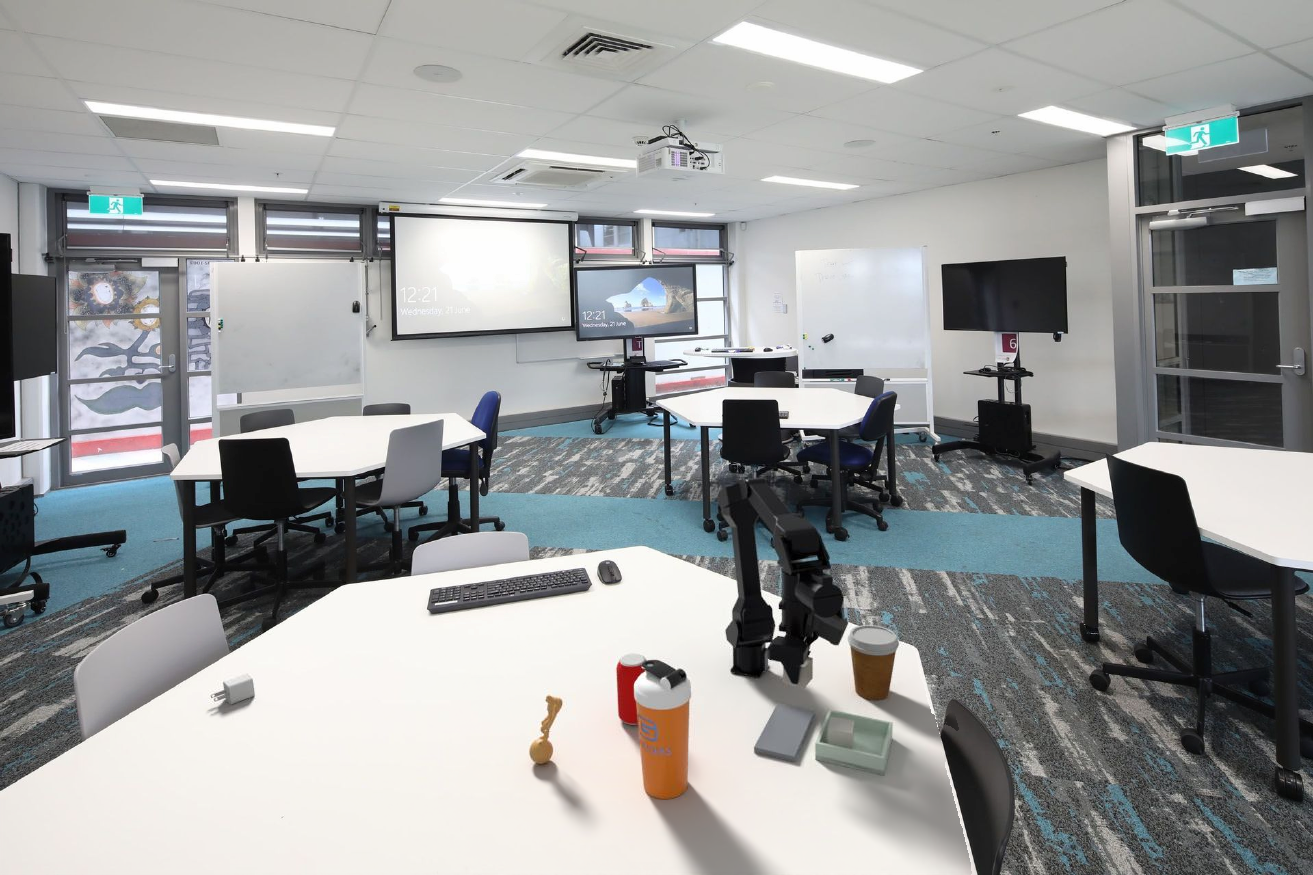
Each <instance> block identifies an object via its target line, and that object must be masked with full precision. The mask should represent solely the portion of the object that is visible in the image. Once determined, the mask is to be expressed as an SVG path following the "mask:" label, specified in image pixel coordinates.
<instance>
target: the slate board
mask: <svg viewBox="0 0 1313 875" xmlns="http://www.w3.org/2000/svg"><path fill="white" fill-rule="evenodd" d="M814 718H815V710H813V709H807V708H803V707H798V706H793V705H788V704H783V703H778V702H777V703H776V705H775V707H774V709H773V711H772V713H771V715H770V717H769V718H768V720H767V722H766V724H765V726H764V727H763V730H762V731H761V733H760V735H759V737H758V739H757V740H756V743H755V744H754V746H753V752H754V753H755V754H760V755H763V756H767V757H770V758H771V757H772V758H775V759H776V758H777V759H780V760H784V761H788V762H793V763H795V762H796V760H797V757H798V756H799V753H800V750H801V748H802V746H803V743H804V742H805V739H806V737H807V734H808V732H809V729H810V727H811V725H812V723H813V720H814Z"/></svg>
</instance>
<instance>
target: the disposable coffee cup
mask: <svg viewBox="0 0 1313 875" xmlns="http://www.w3.org/2000/svg"><path fill="white" fill-rule="evenodd" d="M847 642H848V644H849V646H850V648H849V649H850V655H851V664H852V672H853V680H854V690H855V693H856V694H857V695H858V696H860V697H861V698H863V699H867V700H871V701H881V700H885V699H886V698H888V697H889V695H890V690H891V684H892V683H891V682H892V677H893V670H894V664H895V658H896V653H897V649H898V648H899V645H900V641H899V640H898V637H897V634H896V633H895V632H894V631H892V630H891V629H889V628H887V627H883V626H880V625H873V624H872V625H871V624H866V625H865V624H864V625H858V626H854V627H852V629H850V631H849V635H848V636H847Z"/></svg>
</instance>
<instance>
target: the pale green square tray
mask: <svg viewBox="0 0 1313 875" xmlns="http://www.w3.org/2000/svg"><path fill="white" fill-rule="evenodd" d="M830 717H835V718H842V719H848V720H854V746H853V750H852V749H848V748H843V747H839V746H834V745H830V744H828V727H829V721H830ZM893 723H894V722H892V721H887V720H882V719H877V718H872V717H868V716H863V715H859V714H858V715H857V714H852V713H847V712H843V711H838V710H833V709H828V710H827V713H826V716H825V718H824V720H823V723H822V726H821V729H820V731H819V734H818V736H817V738H816V741H815V746H814V747H815V749H814V750H815V753H814V756H815V757H814V758H815V760H816V761H820V762H825V763H829V764H833V765H836V766H837V765H838V766H842V767H846V768H851V769H854V770H858V771H863V772H868V773H872V774H876V775H881V776H885V772H886V767H887V763H888V760H889V754H890V749H891V746H892V740H893V727H894V724H893Z"/></svg>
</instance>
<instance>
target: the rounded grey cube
mask: <svg viewBox="0 0 1313 875" xmlns="http://www.w3.org/2000/svg"><path fill="white" fill-rule="evenodd" d="M828 744H830V745H834V746H839V747H843V748H848V749H852V750H853V746H854V720H848V719H842V718H835V717H830V721H829V727H828Z"/></svg>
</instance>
